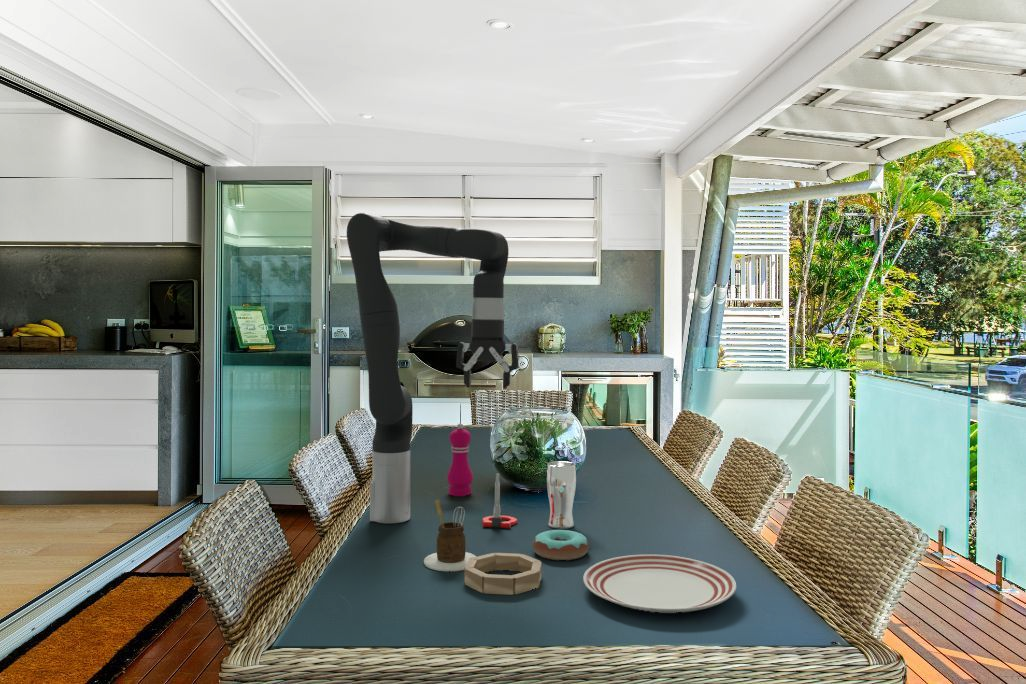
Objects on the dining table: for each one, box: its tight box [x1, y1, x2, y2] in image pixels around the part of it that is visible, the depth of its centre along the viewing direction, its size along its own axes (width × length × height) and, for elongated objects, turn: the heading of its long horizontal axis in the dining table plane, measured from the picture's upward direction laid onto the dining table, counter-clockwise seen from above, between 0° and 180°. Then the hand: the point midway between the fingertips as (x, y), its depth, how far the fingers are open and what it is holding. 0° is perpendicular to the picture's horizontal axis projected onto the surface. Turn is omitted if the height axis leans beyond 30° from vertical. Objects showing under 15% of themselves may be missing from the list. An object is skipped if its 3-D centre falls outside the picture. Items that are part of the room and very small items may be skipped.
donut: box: [532, 529, 590, 561], centre depth 162 cm, size 12×12×4 cm
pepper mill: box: [446, 423, 474, 497], centre depth 214 cm, size 7×7×20 cm
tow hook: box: [482, 473, 518, 529], centre depth 184 cm, size 8×13×9 cm
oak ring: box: [463, 552, 543, 596], centre depth 145 cm, size 14×14×3 cm
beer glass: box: [546, 460, 577, 530], centre depth 182 cm, size 7×7×15 cm
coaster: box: [423, 551, 478, 572], centre depth 155 cm, size 11×11×1 cm
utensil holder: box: [434, 499, 467, 563], centre depth 155 cm, size 6×6×12 cm
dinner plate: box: [582, 554, 737, 614], centre depth 139 cm, size 27×27×3 cm
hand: (486, 387), depth 175 cm, fingers open, 8 cm apart
